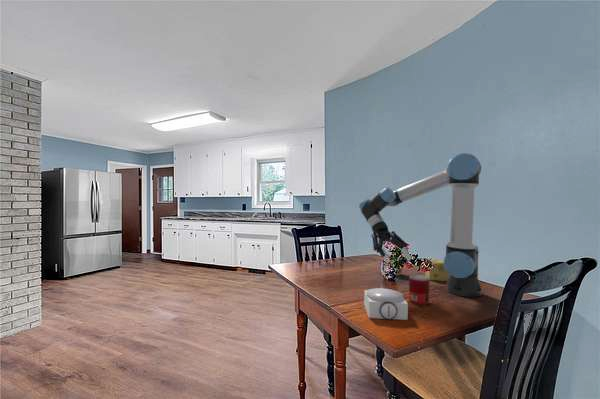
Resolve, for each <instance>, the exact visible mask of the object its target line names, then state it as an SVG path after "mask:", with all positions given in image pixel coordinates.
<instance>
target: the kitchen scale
mask: <svg viewBox="0 0 600 399" xmlns="http://www.w3.org/2000/svg"><path fill="white" fill-rule="evenodd" d="M363 295H364V299H363V302H364V303H363V306H364V308H365V311H366V313H367V316H368V318H369V319H385V320H405V321H406V320H407V321H408V315H409V312H408V311H409V303H408V302H407V300H406V299H405V298H404V297H405V296H404V294H403V293H402V292H400V291H398V290H394V289H390V288H380V287H379V288H376V287H375V288H370V289H364V294H363Z"/></svg>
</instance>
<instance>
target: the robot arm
mask: <svg viewBox="0 0 600 399" xmlns="http://www.w3.org/2000/svg"><path fill="white" fill-rule="evenodd" d="M481 171H482V165H481V162H480V161H479V159H478V158H477V157H476V156H475V155H473V154H472V153H468V152H467V153H466V152H462V153H457V154H455V155H454V156H453V157H452V158H450V160H449V161H448V163H447V167H445V169H444V170H443V171H440V172H437V173H435V174H432V175H430V176H427V177H424V178H423V179H421V180H418V181H415V182H413V183H410V184H408V185H405V186H403V187H400V188H398V189H395V190H392V189H391V188H389V187H384V188H383V189H382V190H380V191H379V192H378V193H377V194H376V195H375V196H374V197H373V198H372V199H368V198H367V199H364V200H362V201H361V202H360V204H359V206H358V207H359V210H360V213H361V214H362V215H363V217H364V219H365V221H366V222H367V223H368V226H369V228H370V229H371V231H372V234H371V235H370V236H371V238H372V246H373V247H372V248H373V251H376V253H379V254H380V257H382V259H383V260H384V262H385V264H387V265H388V263H389V262H390V261H391V260H390V258H389V256H390V255H389V254H388V253H387V251H386V250H385V248H383V245H384V242H389V243H391V244H394V245H395V246H396V247H398V248H399V249H400V252H401V253H402V254H403V256H404V259H407V260H406V261H407V262H409V261H411V260H412V259H413V257H412V255H411V254H410V252H409V250H408V249H407V247H408V246H409V244H408V243H407V242H405V240H404V239H402V238H401V237H400V236H399V235H398V234H397V233H396V232H395V231H394V230H393V231H391V232H390V231H389V227H388V225H387V223H386V221H385V220H384V218H383V217H382V216H381V214H380V212H381V211H383V209H385V208H386V207H395V206H399V205H400V204H403V203H404V202H407V201H410V200H413V199H415V198H418V197H421V196H424V195H426V194H429V193H432V192H435V191H437V190H440V189H442V188H446V187H448V186H449V187H451V207H450V208H451V209H450V210H451V211H450V231H449V232H450V233H449V234H450V235H449V237H450V238H449V242H447V243H446V245H445V257H444V258H443V260H444V267H445V270H446V271H447V272H448V273H449V277H448V281H446V283H445V290H446V292H448V293H450V294H453V295H456V296H461V297H468V298H478V297H477V296H479V297H482V296H481V295H483V289H482V286H481V283H480V280H479V253H480V251H479V247H478V245H474V243H473V232H474V231H473V229H474V208H475V206H474V204H475V189H476V188H477V187H478V186H479V184H480V183H479V182H480V174H481Z"/></svg>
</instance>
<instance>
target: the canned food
mask: <svg viewBox="0 0 600 399" xmlns="http://www.w3.org/2000/svg"><path fill="white" fill-rule="evenodd" d="M408 283H409V284H408V289H409V290H408V300H409V302H410V303H411V304H414V305H418V306H426V305H428V304H429V302H430V280H429V277H427V276H425V274H424V275H423V274H410V275H409V280H408Z"/></svg>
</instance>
